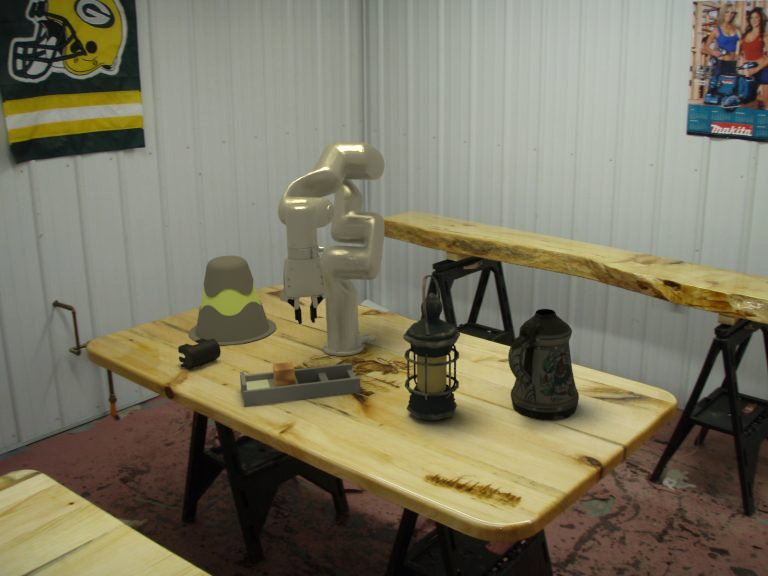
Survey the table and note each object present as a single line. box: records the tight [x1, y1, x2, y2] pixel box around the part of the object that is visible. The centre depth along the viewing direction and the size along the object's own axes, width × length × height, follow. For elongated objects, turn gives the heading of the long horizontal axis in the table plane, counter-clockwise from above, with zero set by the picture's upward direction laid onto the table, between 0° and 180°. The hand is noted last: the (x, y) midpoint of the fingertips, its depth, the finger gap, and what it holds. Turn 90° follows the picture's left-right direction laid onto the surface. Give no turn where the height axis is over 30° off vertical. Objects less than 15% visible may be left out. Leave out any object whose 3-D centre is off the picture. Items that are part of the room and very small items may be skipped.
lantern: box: [402, 274, 461, 421], centre depth 186 cm, size 14×13×35 cm
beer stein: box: [507, 308, 580, 421], centre depth 189 cm, size 16×19×25 cm
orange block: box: [272, 361, 295, 387], centre depth 204 cm, size 5×5×5 cm
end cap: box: [177, 338, 222, 370], centre depth 225 cm, size 10×7×7 cm
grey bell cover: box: [188, 255, 277, 346], centre depth 250 cm, size 28×28×24 cm
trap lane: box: [239, 362, 361, 408], centre depth 205 cm, size 30×11×6 cm, turn 104°
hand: (306, 321), depth 201 cm, fingers open, 2 cm apart
